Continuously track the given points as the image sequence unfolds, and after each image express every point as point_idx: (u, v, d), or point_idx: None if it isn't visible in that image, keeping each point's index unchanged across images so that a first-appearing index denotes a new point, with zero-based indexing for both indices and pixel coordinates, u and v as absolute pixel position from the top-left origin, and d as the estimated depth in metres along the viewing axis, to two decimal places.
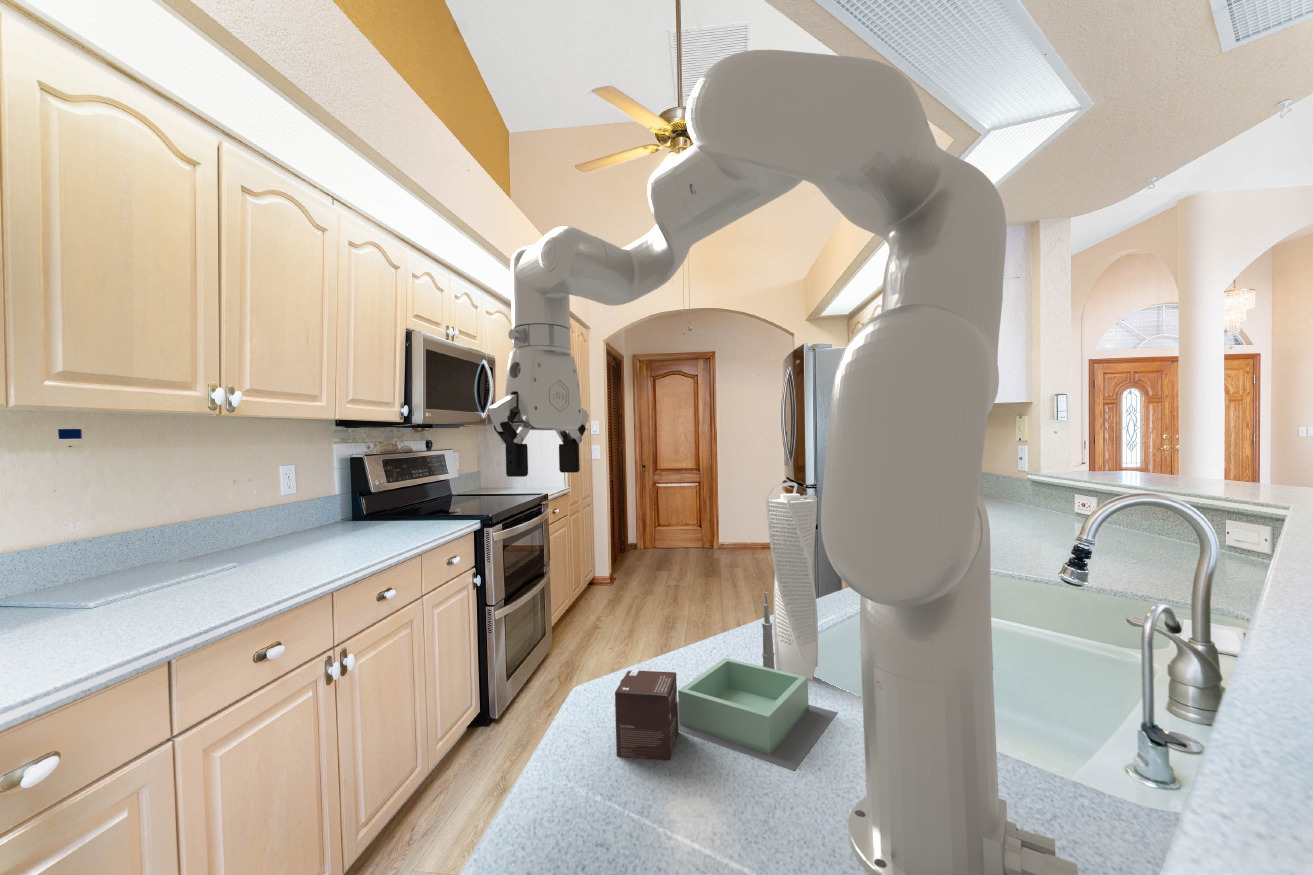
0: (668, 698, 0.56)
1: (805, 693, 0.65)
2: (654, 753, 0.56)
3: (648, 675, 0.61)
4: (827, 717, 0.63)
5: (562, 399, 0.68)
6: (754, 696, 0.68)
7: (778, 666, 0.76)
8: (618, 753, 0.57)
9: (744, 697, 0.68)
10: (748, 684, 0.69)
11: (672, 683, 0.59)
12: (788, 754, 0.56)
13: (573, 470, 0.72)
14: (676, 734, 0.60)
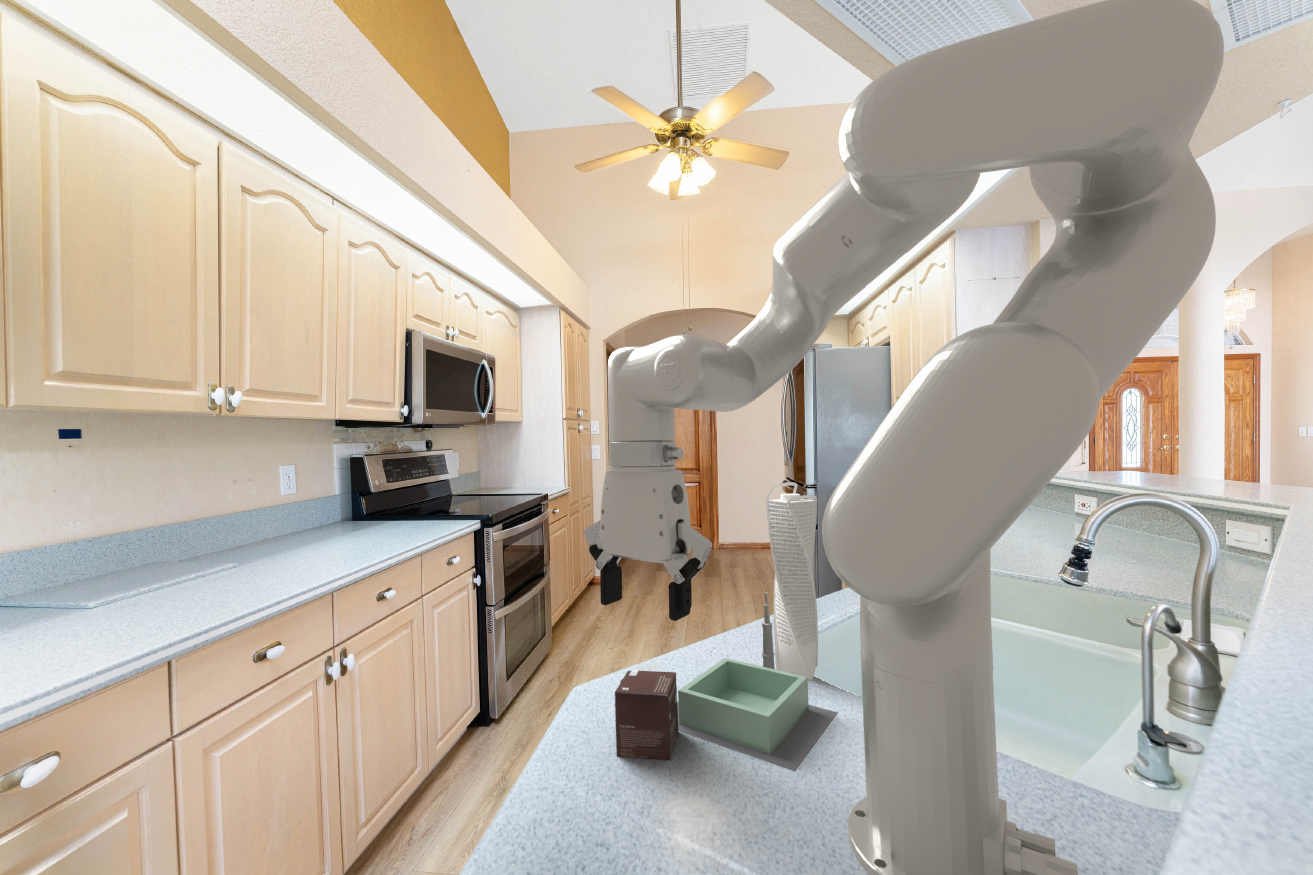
0: (668, 698, 0.56)
1: (805, 693, 0.65)
2: (654, 753, 0.56)
3: (648, 675, 0.61)
4: (827, 717, 0.63)
5: None
6: (754, 696, 0.68)
7: (778, 666, 0.76)
8: (618, 753, 0.57)
9: (744, 697, 0.68)
10: (748, 684, 0.69)
11: (672, 683, 0.59)
12: (788, 754, 0.56)
13: (620, 598, 0.63)
14: (676, 734, 0.60)
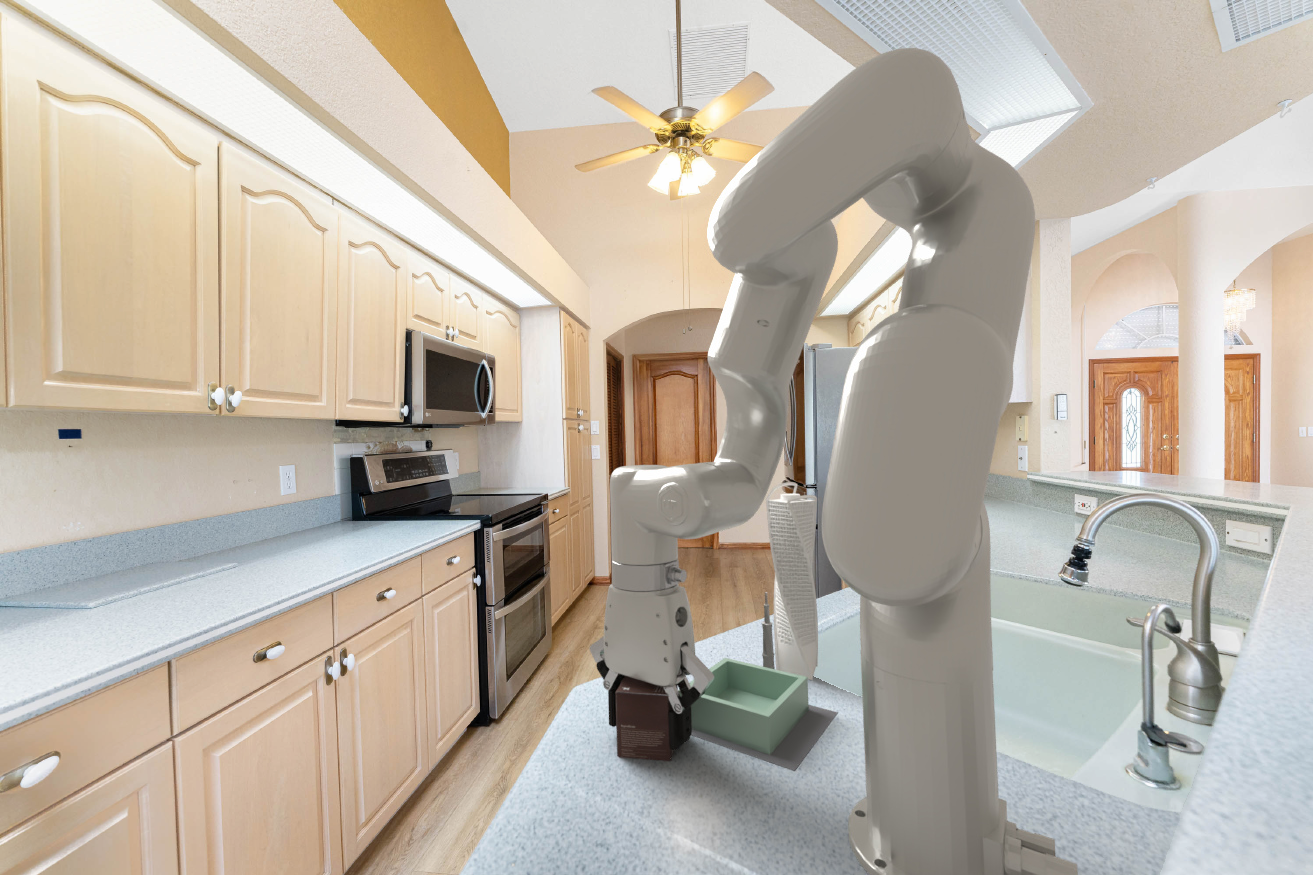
0: None
1: (805, 693, 0.65)
2: (655, 753, 0.56)
3: None
4: (827, 717, 0.63)
5: None
6: (754, 696, 0.68)
7: (778, 666, 0.76)
8: (619, 753, 0.57)
9: (744, 697, 0.68)
10: (748, 684, 0.69)
11: None
12: (788, 754, 0.56)
13: None
14: None
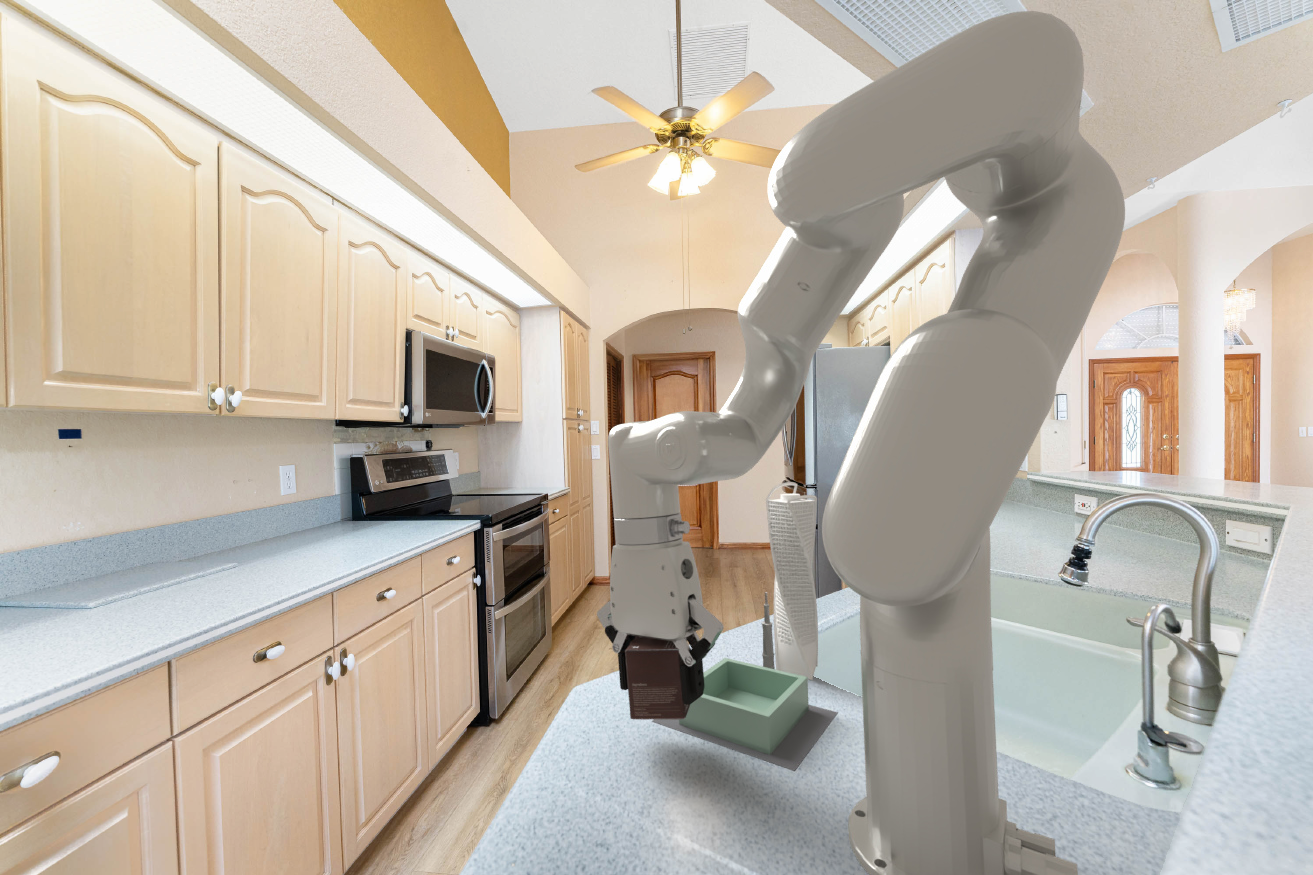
0: (679, 653, 0.55)
1: (805, 693, 0.65)
2: (668, 710, 0.55)
3: None
4: (827, 717, 0.63)
5: None
6: (754, 696, 0.68)
7: (778, 666, 0.76)
8: (632, 713, 0.56)
9: (744, 697, 0.68)
10: (748, 684, 0.69)
11: None
12: (788, 754, 0.56)
13: None
14: None
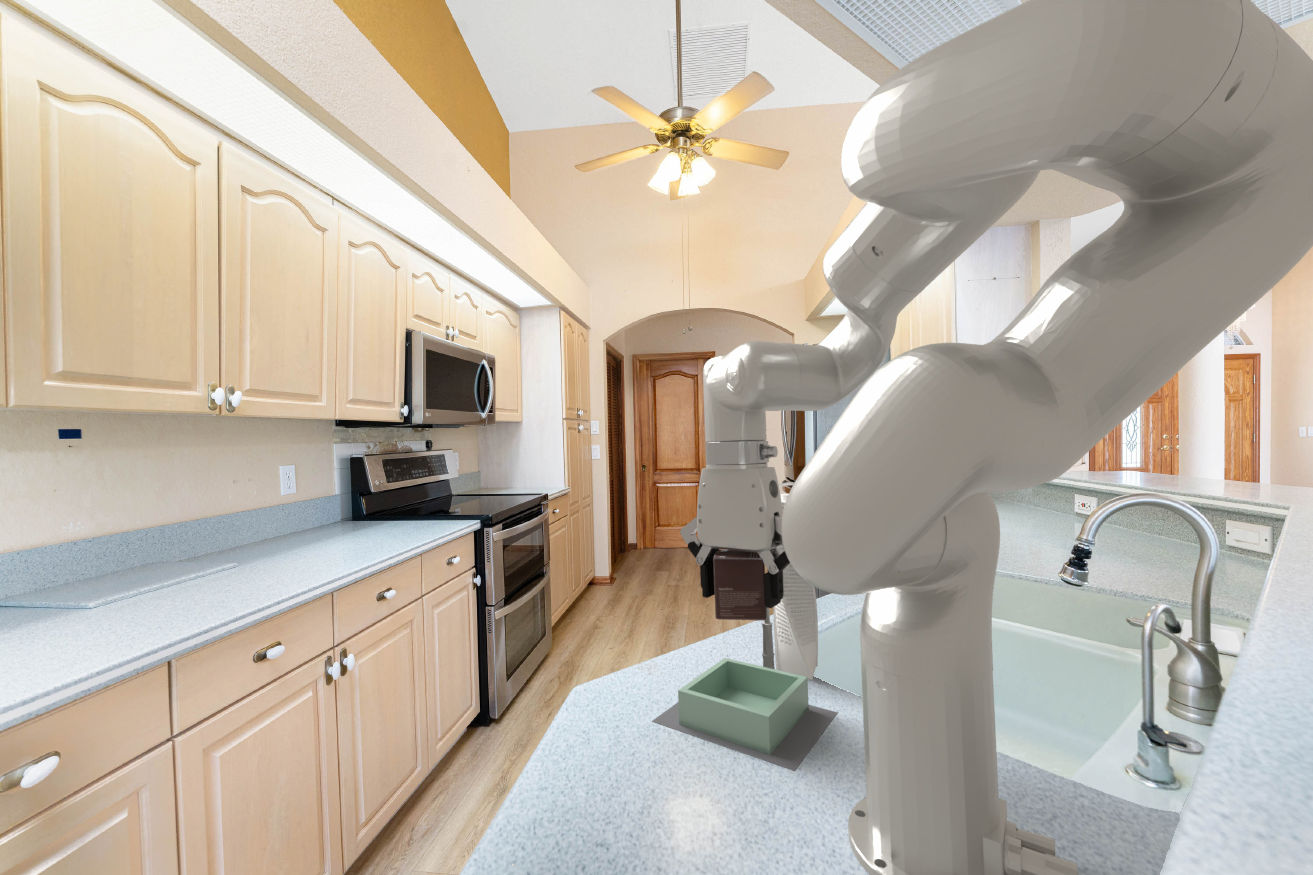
0: (763, 562, 0.61)
1: (805, 693, 0.65)
2: (751, 611, 0.61)
3: (738, 551, 0.66)
4: (827, 717, 0.63)
5: None
6: (754, 696, 0.68)
7: (778, 666, 0.76)
8: (717, 614, 0.62)
9: (744, 697, 0.68)
10: (748, 684, 0.69)
11: None
12: (788, 754, 0.56)
13: None
14: None
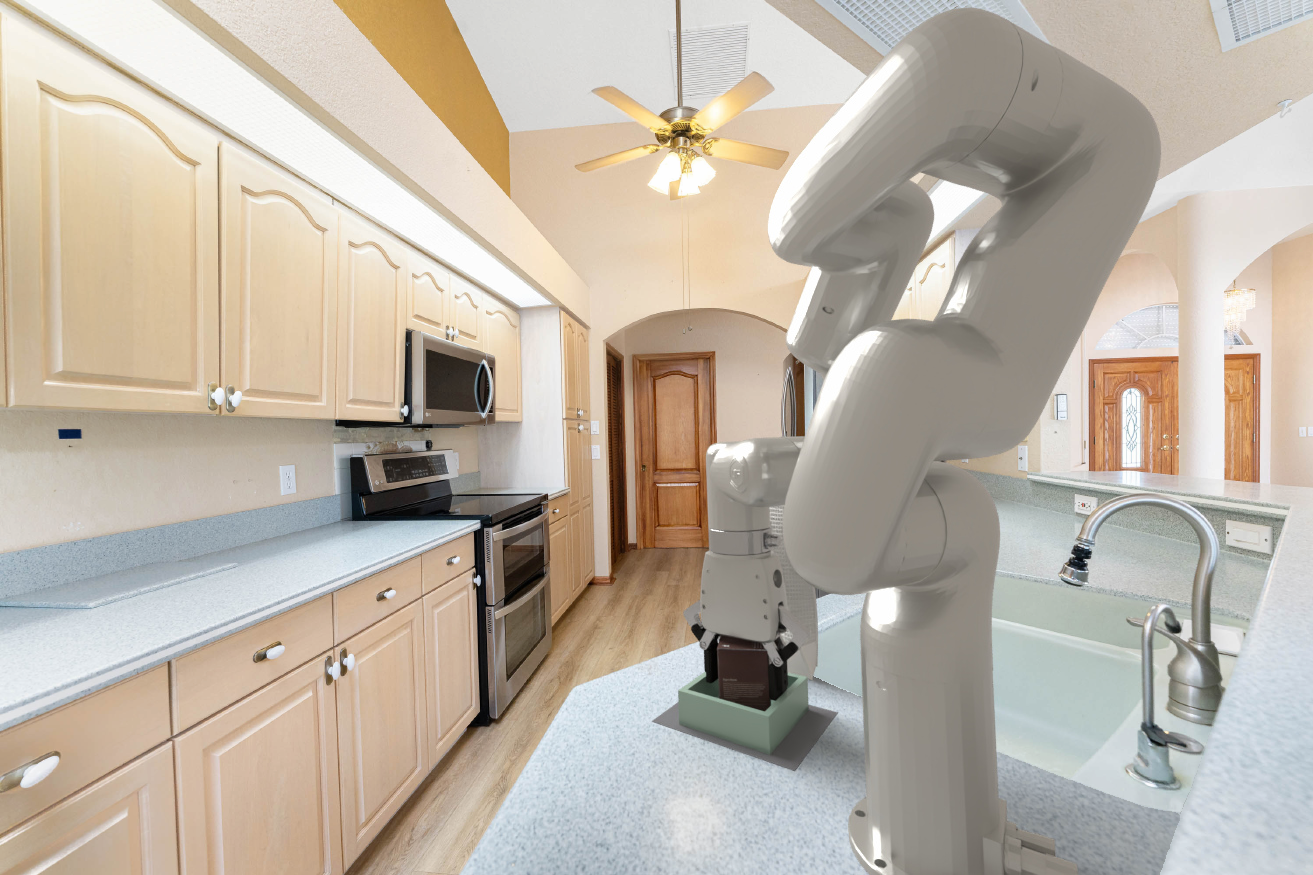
0: None
1: (805, 693, 0.65)
2: (756, 703, 0.61)
3: None
4: (827, 717, 0.63)
5: None
6: None
7: None
8: None
9: None
10: None
11: None
12: (788, 754, 0.56)
13: None
14: None
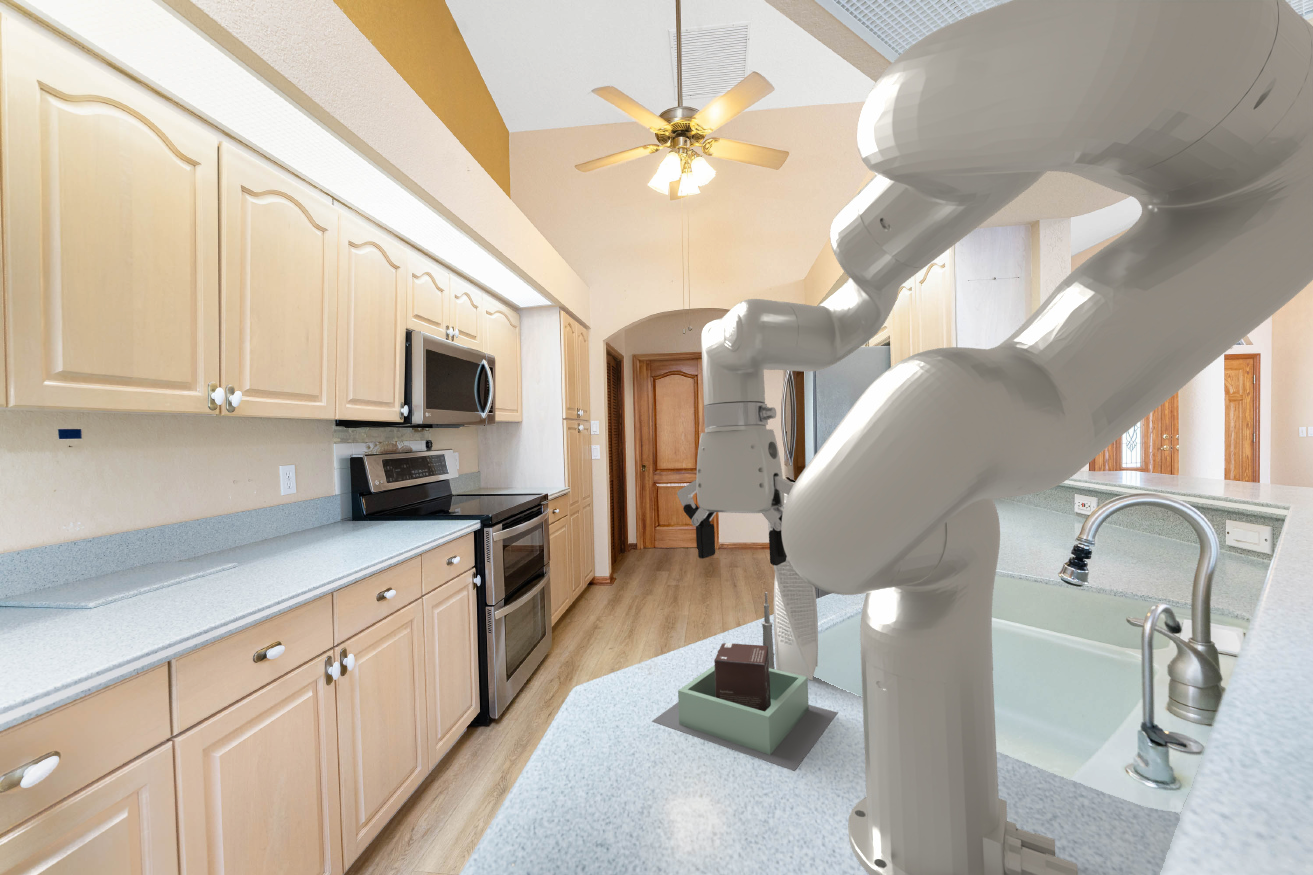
0: (764, 667, 0.61)
1: (805, 693, 0.65)
2: None
3: (742, 647, 0.66)
4: (827, 717, 0.63)
5: None
6: None
7: (778, 666, 0.76)
8: None
9: None
10: None
11: (766, 654, 0.64)
12: (788, 754, 0.56)
13: (714, 553, 0.68)
14: (769, 702, 0.64)
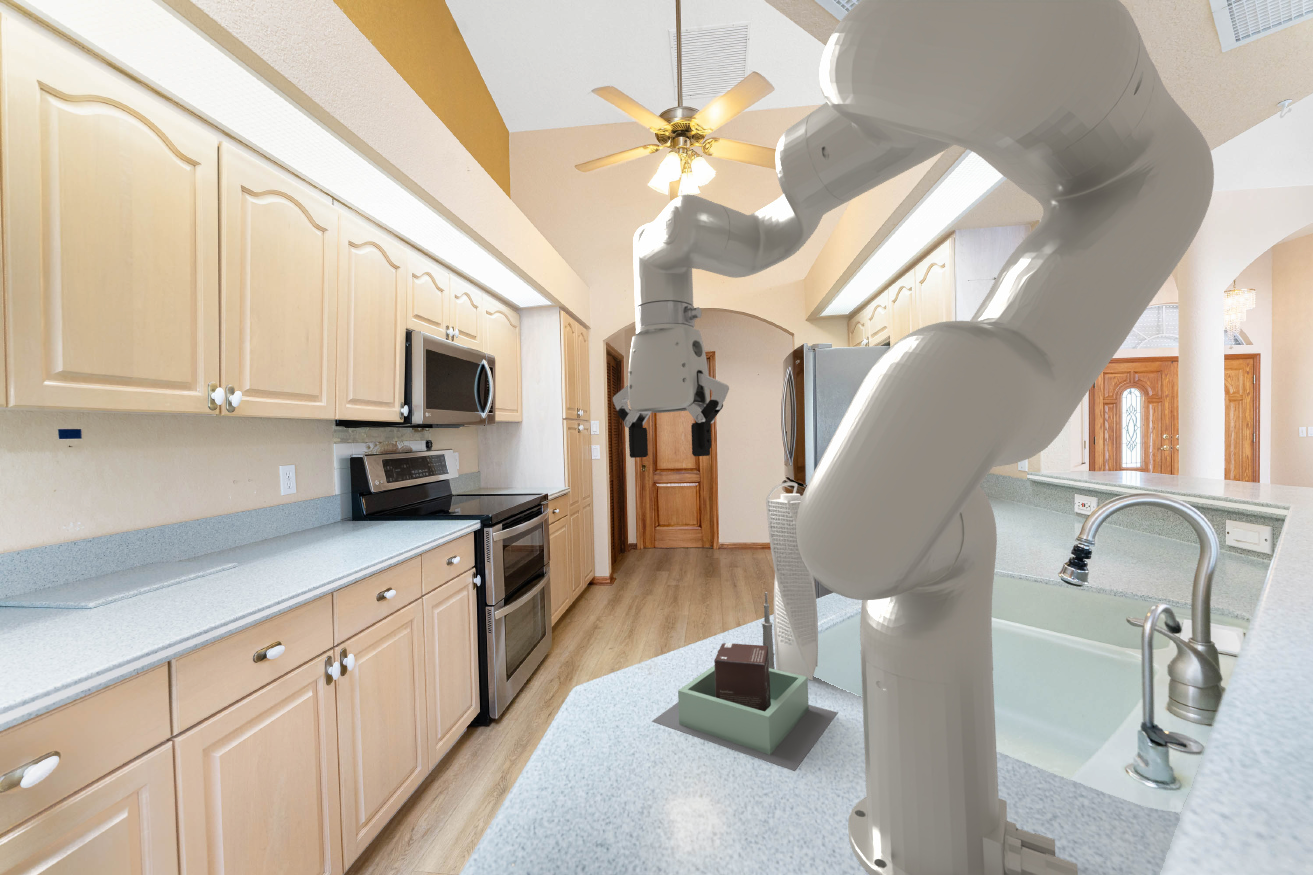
0: (764, 667, 0.61)
1: (805, 693, 0.65)
2: None
3: (742, 647, 0.66)
4: (827, 717, 0.63)
5: None
6: None
7: (778, 666, 0.76)
8: None
9: None
10: None
11: (766, 654, 0.64)
12: (788, 754, 0.56)
13: (646, 455, 0.71)
14: (769, 702, 0.64)
